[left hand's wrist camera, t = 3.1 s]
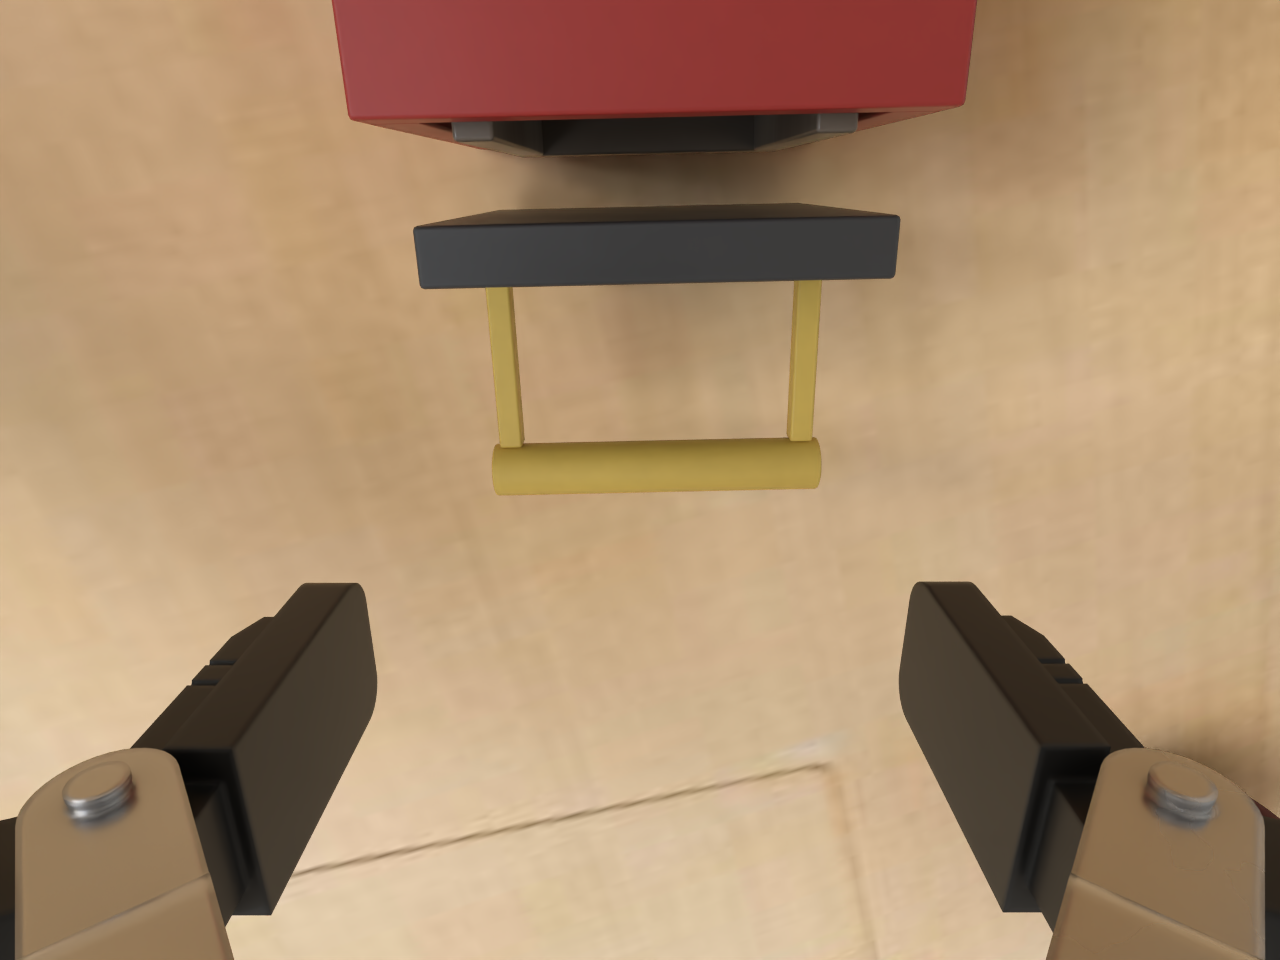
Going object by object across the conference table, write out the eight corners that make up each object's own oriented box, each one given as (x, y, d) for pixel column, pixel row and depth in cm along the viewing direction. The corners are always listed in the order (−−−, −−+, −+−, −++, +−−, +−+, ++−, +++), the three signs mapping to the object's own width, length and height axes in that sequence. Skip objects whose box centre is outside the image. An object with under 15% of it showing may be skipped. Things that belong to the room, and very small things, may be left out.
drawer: (788, 426, 27) (869, 555, 17) (516, 432, 27) (452, 563, 17) (832, -432, 19) (1022, -1029, 10) (444, -421, 19) (259, -1006, 10)
